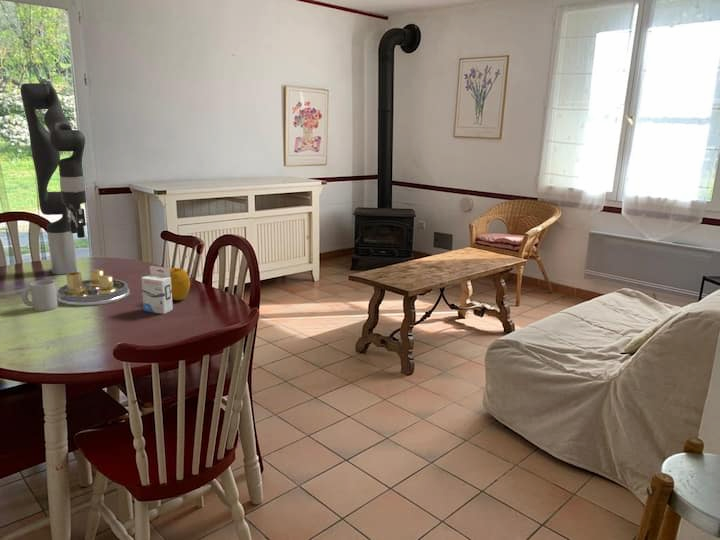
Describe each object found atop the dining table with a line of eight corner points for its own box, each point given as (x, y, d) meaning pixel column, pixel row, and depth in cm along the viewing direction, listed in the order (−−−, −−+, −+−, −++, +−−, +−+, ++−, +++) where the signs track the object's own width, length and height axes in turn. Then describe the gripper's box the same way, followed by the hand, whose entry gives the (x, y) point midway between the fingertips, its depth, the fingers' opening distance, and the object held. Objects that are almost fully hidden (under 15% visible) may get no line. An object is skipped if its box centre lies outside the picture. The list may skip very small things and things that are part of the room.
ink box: (142, 311, 184) (139, 268, 180) (152, 306, 188) (149, 265, 185) (164, 314, 181) (161, 271, 178) (173, 309, 186) (170, 267, 182)
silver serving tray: (50, 293, 199) (47, 273, 197) (117, 283, 214) (115, 264, 212) (67, 310, 182) (64, 288, 180) (139, 297, 197) (137, 277, 195)
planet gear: (63, 294, 195) (60, 273, 193) (83, 291, 199) (81, 270, 197) (68, 299, 190) (65, 277, 188) (89, 296, 194) (87, 274, 192)
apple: (157, 299, 196) (155, 267, 193) (180, 293, 204) (178, 262, 201) (173, 305, 191) (171, 272, 188) (196, 298, 198) (195, 267, 195)
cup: (58, 309, 183) (55, 284, 181) (23, 314, 178) (20, 287, 176) (57, 303, 189) (54, 278, 187) (23, 307, 184) (20, 282, 182)
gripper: (55, 187, 192) (61, 232, 197) (66, 192, 182) (71, 240, 186) (79, 186, 197) (83, 230, 201) (90, 191, 187) (95, 237, 191)
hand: (77, 235), depth 194 cm, fingers open, 8 cm apart
